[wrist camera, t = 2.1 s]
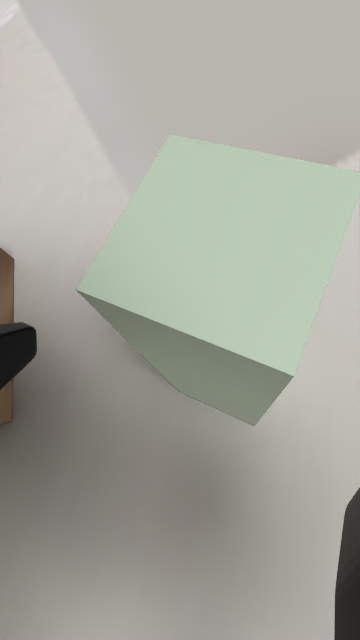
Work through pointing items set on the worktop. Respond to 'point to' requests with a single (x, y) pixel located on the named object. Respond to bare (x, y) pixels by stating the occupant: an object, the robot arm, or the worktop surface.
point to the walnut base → (3, 300)
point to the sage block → (223, 268)
